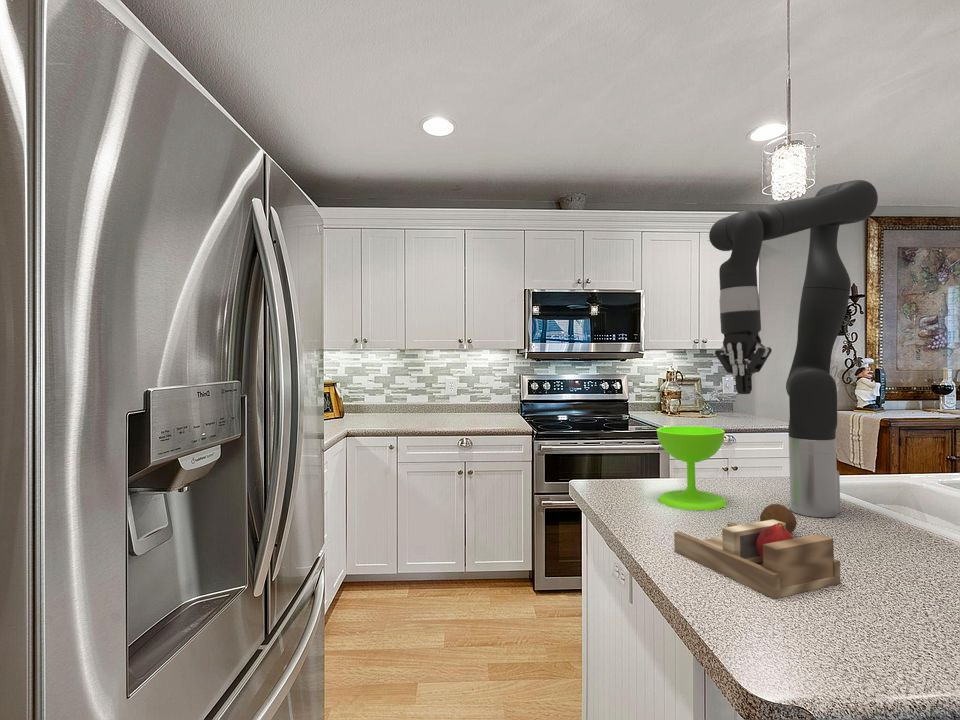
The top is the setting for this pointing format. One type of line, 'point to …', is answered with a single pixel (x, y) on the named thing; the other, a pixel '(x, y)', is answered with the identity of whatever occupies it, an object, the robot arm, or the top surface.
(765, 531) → the onion
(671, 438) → the wineglass
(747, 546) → the jaw
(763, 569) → the vise base
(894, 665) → the top surface
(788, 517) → the potato
